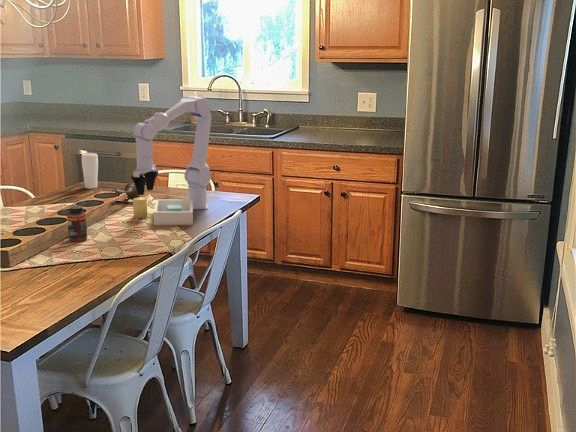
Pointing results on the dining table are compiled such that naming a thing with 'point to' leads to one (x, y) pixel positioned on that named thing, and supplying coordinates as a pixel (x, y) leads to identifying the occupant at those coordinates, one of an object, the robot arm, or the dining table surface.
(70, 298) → the dining table surface
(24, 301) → the dining table surface
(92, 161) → the drinking glass
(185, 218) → the grey tote
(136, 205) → the mustard cylinder
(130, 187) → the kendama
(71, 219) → the supplement bottle
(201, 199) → the robot arm
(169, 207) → the teal cube
